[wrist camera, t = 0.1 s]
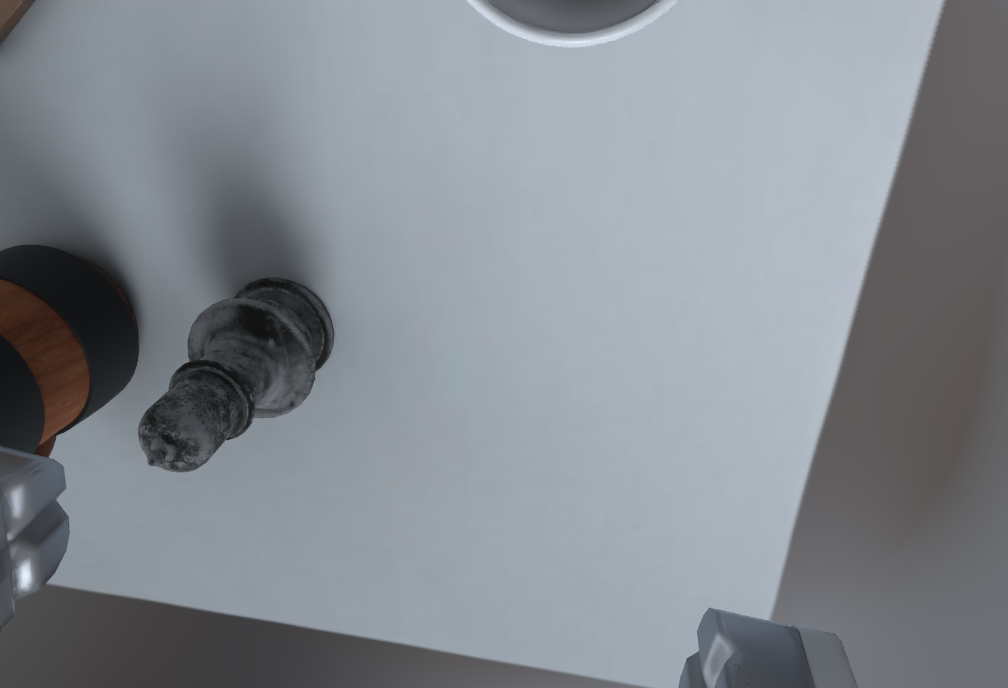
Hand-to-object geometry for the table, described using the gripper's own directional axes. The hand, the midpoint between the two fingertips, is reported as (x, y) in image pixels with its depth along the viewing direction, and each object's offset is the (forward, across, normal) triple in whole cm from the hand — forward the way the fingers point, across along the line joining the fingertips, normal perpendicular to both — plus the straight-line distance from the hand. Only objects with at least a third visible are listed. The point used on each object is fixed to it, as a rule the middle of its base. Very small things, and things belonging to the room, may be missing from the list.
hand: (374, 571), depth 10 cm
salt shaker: (+26, +11, +11) cm, 30 cm away
